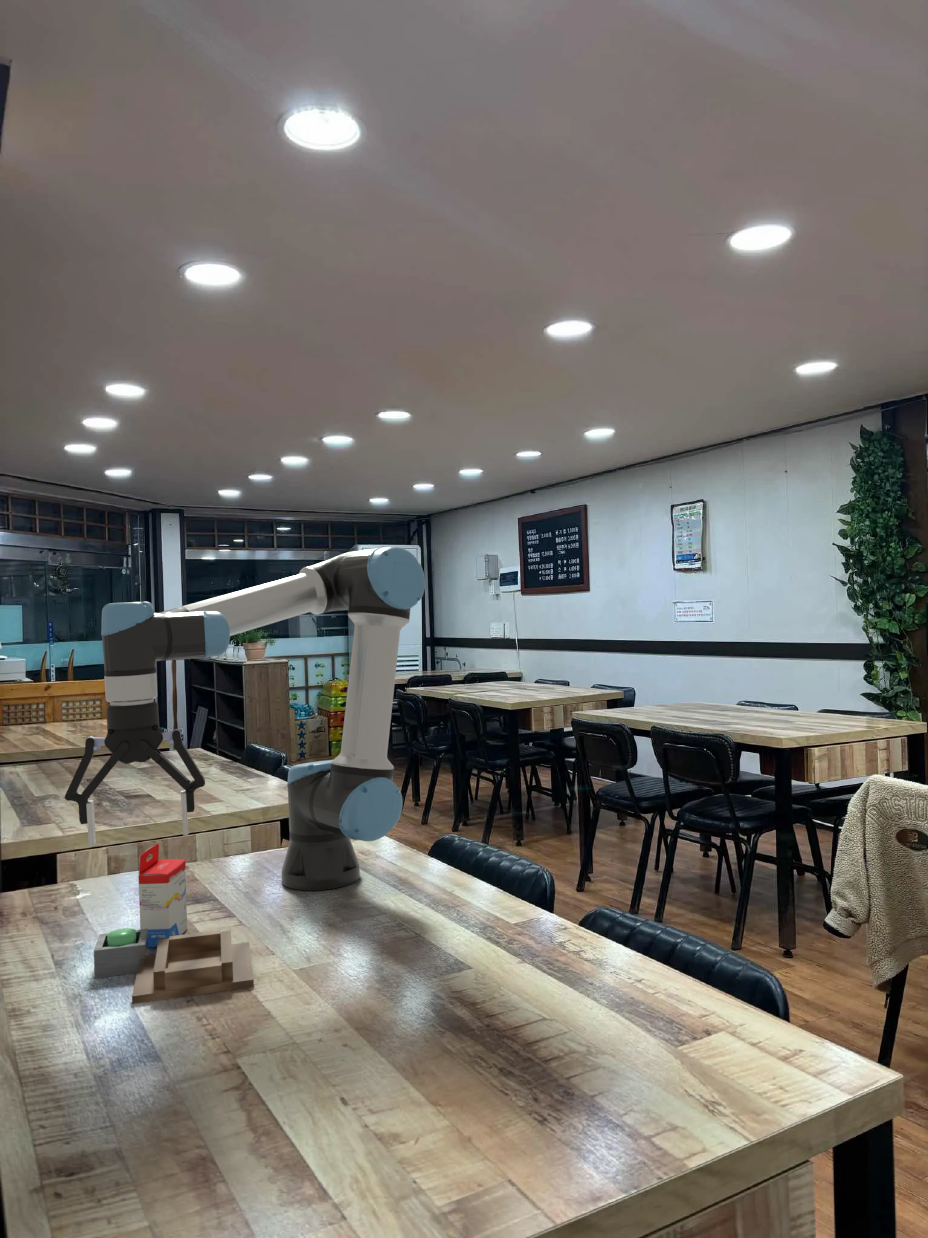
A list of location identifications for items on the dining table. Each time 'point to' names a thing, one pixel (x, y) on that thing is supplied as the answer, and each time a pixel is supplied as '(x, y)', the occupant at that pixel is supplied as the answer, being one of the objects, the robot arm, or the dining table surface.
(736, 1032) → the dining table surface
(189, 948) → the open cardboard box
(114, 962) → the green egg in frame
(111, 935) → the button
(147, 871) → the ink box
